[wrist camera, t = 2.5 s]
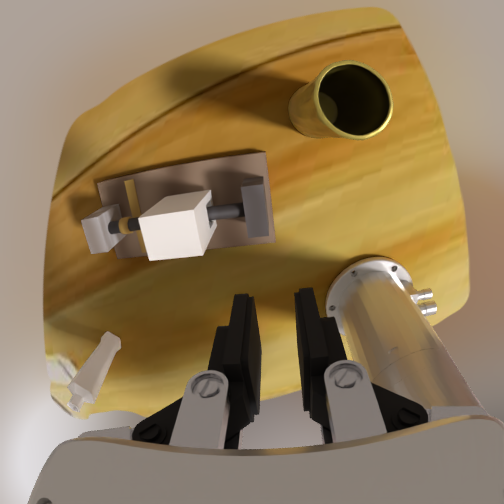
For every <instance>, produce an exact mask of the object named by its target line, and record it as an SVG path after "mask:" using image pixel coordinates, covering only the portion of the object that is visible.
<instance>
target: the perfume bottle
mask: <svg viewBox="0 0 504 504" xmlns="http://www.w3.org/2000/svg"><path fill="white" fill-rule="evenodd" d="M120 349H121V341H120V338H119V337H117V336H115V335H114V334H112V333H110V332H108V331H107V332H106V333H105V334H104V335H103V336H102V337H101V341H100V344H99V345H98V346H97V347H96V349H95V350H94V351H93V353H92V354H91V355H90V357H89V358H88V359H87V361H86V362H85V363H84V365H83V366H82V367H81V369H80V370H79V372H78V373H77V374H76V376H75V377H74V378H73V380H72V381H71V383H70V384H69V385H68V387H67V388H68V389H69V390H70V392H71V393H72V394H73V396H72V397H71V399H70V401H69V402H68V403H67V405H68V406H69V407H70V408H71V409H72V410H73V411H77V412H80V409H81V407H82V405H83V403H84V402H87V403H93V404H94V403H95V401H96V398H97V396H98V393H99V391H100V388H101V386H102V384H103V381H104V379H105V376H106V374H107V372H108V369H109V367H110V365H111V363H112V360H113V358H114V356H115V354H116V352H117V351H118V350H120Z"/></svg>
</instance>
